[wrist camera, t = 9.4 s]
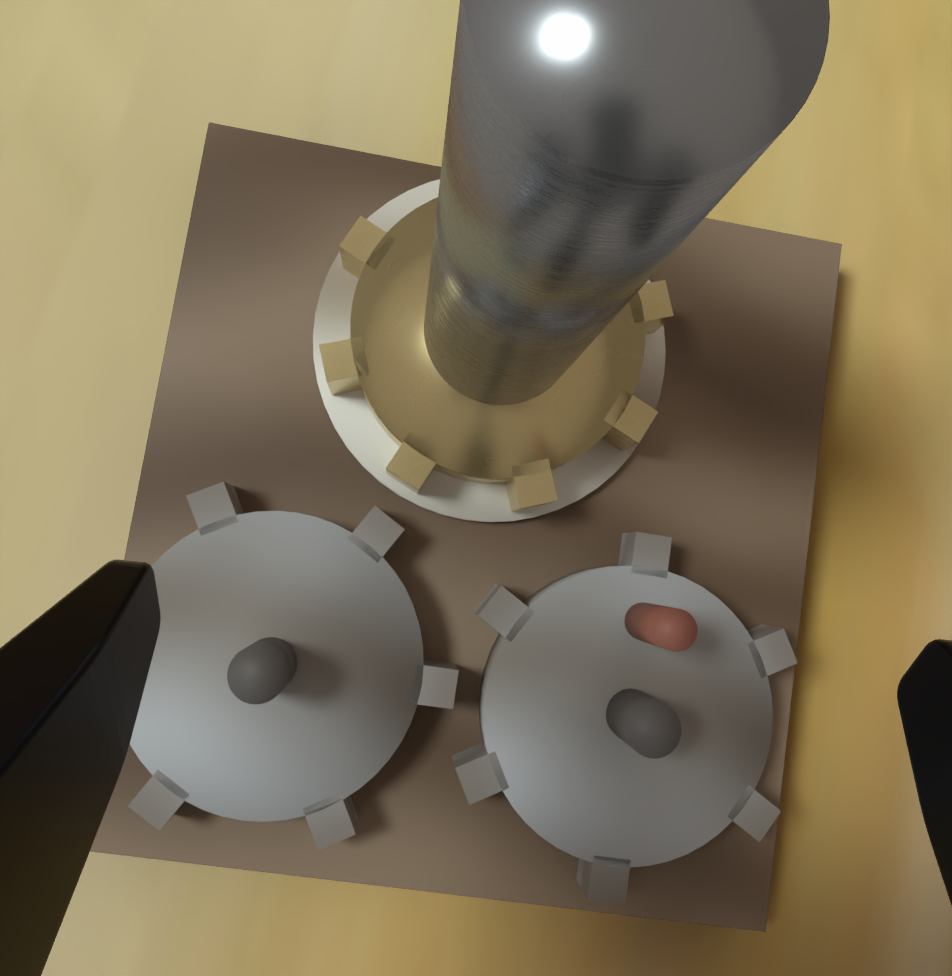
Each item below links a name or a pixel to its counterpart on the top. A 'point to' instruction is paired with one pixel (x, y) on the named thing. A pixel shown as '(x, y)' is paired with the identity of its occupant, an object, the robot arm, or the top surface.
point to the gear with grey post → (559, 224)
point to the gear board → (468, 583)
